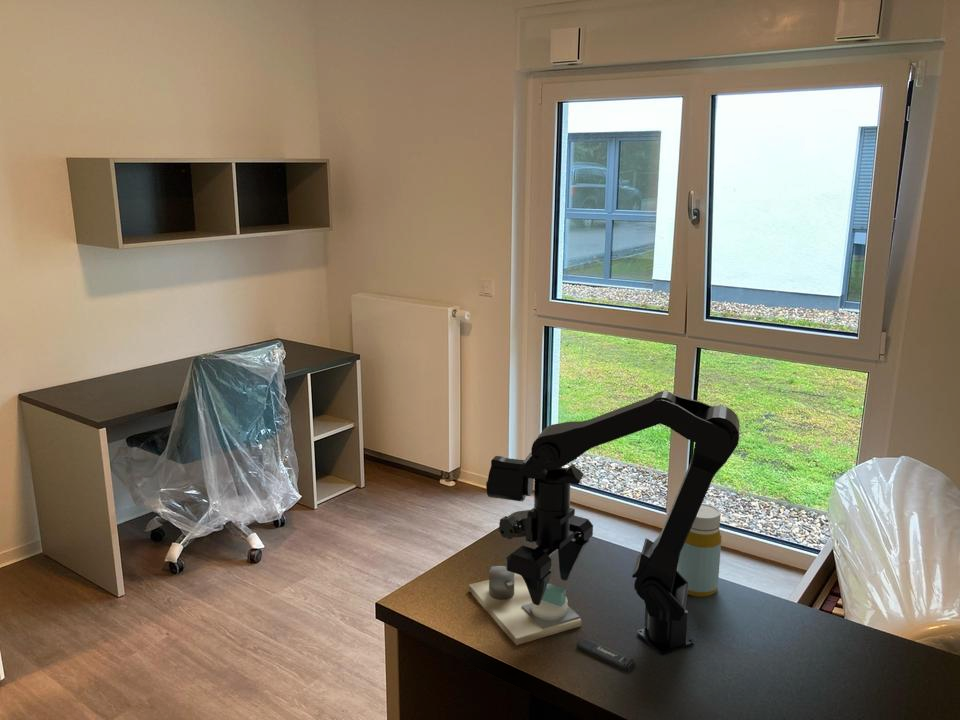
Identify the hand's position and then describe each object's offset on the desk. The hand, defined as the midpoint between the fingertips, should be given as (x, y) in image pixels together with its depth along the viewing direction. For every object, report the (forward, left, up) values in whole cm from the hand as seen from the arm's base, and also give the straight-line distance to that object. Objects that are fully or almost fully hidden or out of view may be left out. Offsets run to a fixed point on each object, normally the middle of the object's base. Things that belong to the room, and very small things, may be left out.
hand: (550, 591), depth 127 cm
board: (+5, +3, -5) cm, 8 cm away
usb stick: (-12, -2, -6) cm, 14 cm away
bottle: (-3, -28, -5) cm, 29 cm away
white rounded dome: (0, 0, -4) cm, 4 cm away
